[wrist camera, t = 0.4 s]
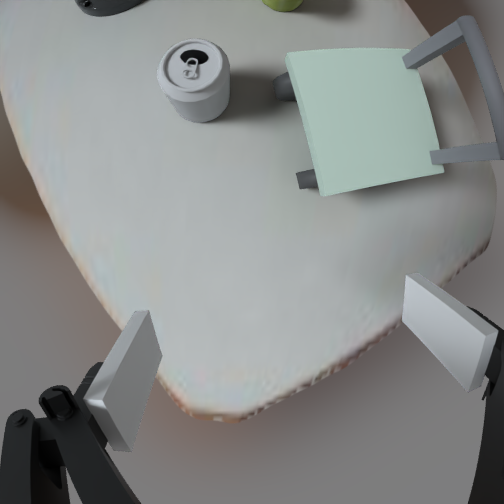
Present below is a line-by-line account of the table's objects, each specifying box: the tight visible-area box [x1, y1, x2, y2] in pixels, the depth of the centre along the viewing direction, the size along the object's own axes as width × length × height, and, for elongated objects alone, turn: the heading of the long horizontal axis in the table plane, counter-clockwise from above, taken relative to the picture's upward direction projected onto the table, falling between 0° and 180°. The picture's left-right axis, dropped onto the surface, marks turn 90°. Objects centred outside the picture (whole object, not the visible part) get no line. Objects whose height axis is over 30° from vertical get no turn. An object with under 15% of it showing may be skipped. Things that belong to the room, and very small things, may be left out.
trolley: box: [273, 16, 504, 196], centre depth 27 cm, size 16×18×23 cm
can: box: [157, 39, 230, 122], centre depth 31 cm, size 8×8×12 cm
